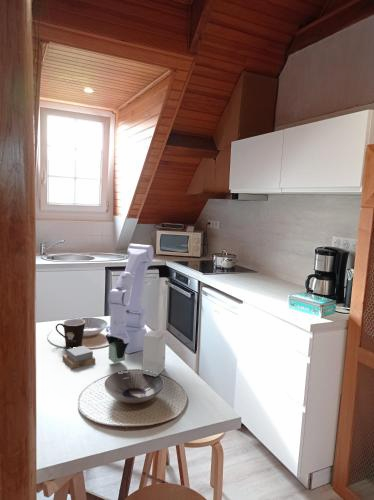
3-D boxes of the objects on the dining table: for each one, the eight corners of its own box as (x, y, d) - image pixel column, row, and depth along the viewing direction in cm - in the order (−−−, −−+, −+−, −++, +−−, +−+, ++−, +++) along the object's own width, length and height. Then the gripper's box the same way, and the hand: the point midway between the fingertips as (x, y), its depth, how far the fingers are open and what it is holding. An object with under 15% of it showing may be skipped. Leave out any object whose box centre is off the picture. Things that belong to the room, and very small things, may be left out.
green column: (119, 355, 142) (119, 341, 141) (124, 360, 139) (125, 345, 138) (108, 358, 139) (109, 343, 138) (114, 363, 136) (114, 347, 135)
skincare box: (156, 378, 129) (158, 338, 128) (140, 375, 131) (142, 335, 129) (165, 368, 137) (167, 330, 135) (150, 365, 139) (152, 327, 137)
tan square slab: (85, 356, 145) (85, 350, 145) (95, 364, 139) (95, 358, 138) (62, 361, 140) (62, 355, 139) (72, 370, 133) (72, 363, 132)
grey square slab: (83, 351, 144) (83, 345, 143) (92, 357, 139) (92, 351, 138) (66, 355, 139) (66, 349, 138) (75, 362, 134) (75, 355, 133)
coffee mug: (88, 344, 155) (89, 322, 154) (72, 351, 148) (73, 327, 146) (70, 338, 161) (70, 316, 160) (53, 343, 154) (54, 320, 152)
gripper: (99, 316, 140) (98, 350, 142) (118, 328, 129) (116, 365, 131) (115, 314, 144) (114, 346, 146) (135, 324, 133) (133, 360, 135)
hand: (116, 355), depth 139 cm, fingers closed on green column, 4 cm apart
